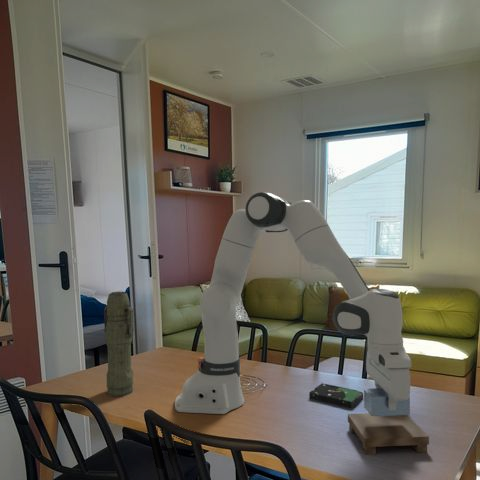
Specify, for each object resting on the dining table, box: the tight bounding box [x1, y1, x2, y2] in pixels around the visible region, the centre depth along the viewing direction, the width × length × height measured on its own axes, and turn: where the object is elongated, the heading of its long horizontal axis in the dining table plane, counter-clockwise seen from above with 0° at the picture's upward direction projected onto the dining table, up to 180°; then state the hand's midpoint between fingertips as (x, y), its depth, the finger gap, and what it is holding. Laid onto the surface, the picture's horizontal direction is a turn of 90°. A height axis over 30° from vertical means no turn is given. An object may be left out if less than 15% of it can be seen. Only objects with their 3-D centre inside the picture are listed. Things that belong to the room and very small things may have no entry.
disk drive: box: [308, 382, 364, 410], centre depth 136 cm, size 10×3×15 cm
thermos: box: [103, 291, 134, 398], centre depth 145 cm, size 9×12×35 cm
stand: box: [347, 412, 430, 455], centre depth 109 cm, size 16×14×4 cm
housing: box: [363, 387, 411, 416], centre depth 109 cm, size 10×6×5 cm, turn 93°
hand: (386, 403), depth 109 cm, fingers closed on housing, 5 cm apart
